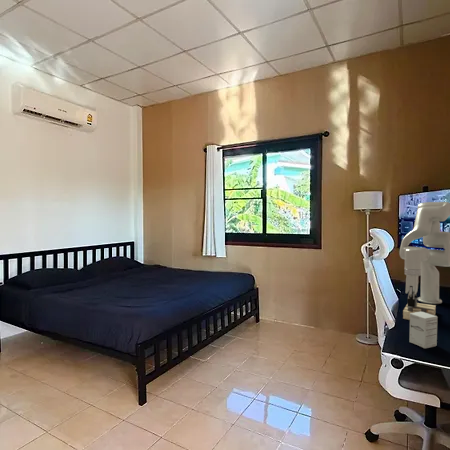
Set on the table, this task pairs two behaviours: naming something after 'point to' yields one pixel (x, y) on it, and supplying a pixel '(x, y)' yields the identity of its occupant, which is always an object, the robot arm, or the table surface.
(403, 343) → the table surface
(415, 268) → the robot arm
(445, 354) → the table surface
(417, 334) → the supplement box
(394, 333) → the table surface
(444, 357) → the table surface
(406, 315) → the fader console
